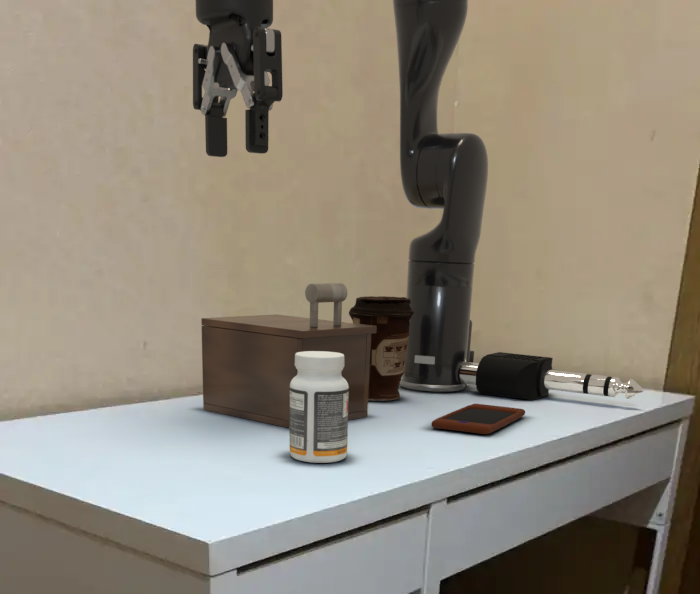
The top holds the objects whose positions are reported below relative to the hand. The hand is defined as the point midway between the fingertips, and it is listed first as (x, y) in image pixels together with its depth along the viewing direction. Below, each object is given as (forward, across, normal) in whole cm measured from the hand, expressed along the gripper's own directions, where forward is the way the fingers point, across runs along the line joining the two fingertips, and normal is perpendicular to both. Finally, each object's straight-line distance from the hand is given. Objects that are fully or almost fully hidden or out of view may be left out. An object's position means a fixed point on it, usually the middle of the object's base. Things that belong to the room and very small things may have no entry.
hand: (236, 154), depth 96 cm
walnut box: (+28, +3, -8) cm, 29 cm away
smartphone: (+28, -12, -26) cm, 40 cm away
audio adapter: (+28, -2, -49) cm, 56 cm away
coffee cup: (+28, +8, -26) cm, 39 cm away
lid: (+18, +3, -8) cm, 20 cm away
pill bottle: (+28, -19, +2) cm, 34 cm away
